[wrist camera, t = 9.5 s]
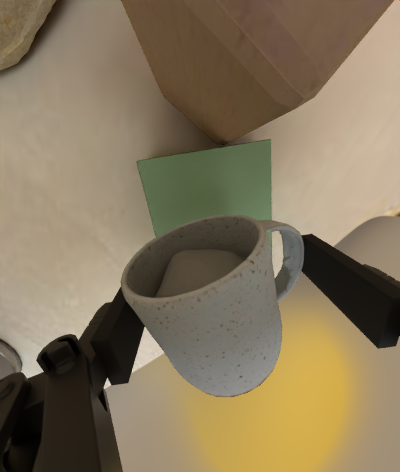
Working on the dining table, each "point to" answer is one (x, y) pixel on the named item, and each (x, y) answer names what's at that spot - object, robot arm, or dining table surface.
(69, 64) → the dining table surface
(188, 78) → the wooden block
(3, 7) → the rough brown rock
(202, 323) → the ceramic mug
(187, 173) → the green block
